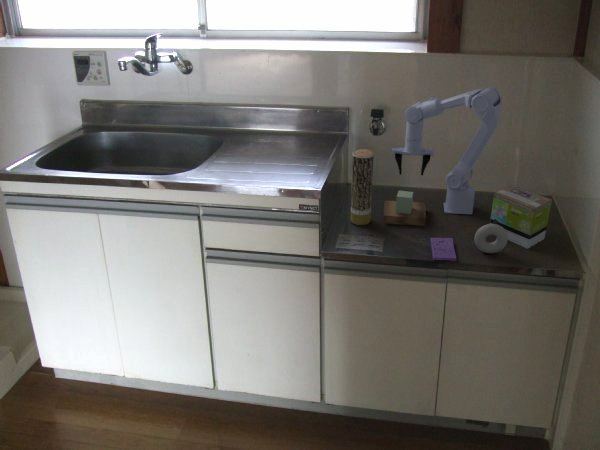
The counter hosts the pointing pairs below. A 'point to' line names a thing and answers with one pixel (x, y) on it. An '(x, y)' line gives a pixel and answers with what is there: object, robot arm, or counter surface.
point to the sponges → (442, 249)
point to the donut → (491, 230)
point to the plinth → (404, 219)
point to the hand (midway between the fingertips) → (411, 173)
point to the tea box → (521, 215)
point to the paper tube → (361, 186)
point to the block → (404, 202)
